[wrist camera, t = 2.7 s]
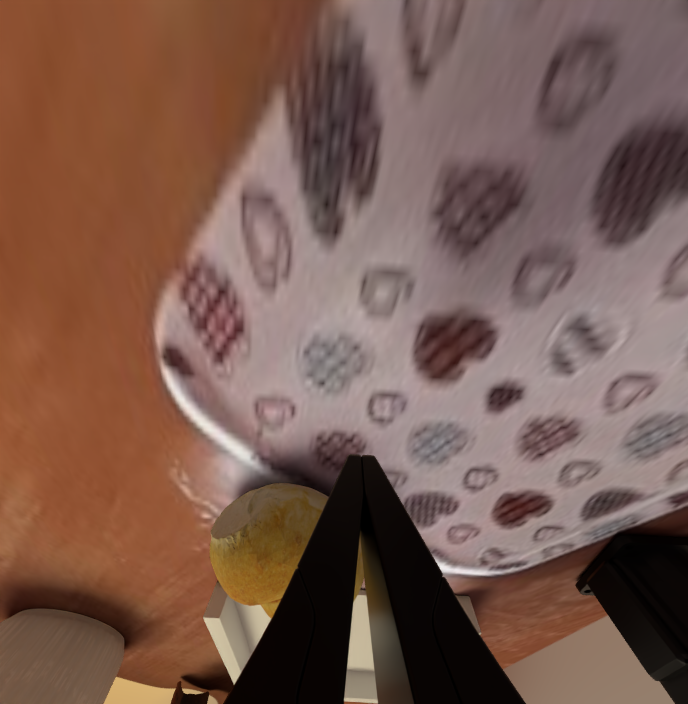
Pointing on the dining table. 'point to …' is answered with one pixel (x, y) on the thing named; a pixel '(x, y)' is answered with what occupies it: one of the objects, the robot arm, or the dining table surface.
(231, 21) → the dining table surface
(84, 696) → the ramekin
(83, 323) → the dining table surface
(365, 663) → the tray
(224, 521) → the bread roll
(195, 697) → the pottery mug
